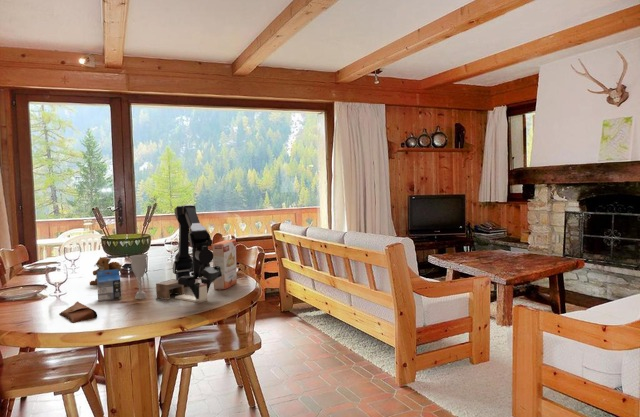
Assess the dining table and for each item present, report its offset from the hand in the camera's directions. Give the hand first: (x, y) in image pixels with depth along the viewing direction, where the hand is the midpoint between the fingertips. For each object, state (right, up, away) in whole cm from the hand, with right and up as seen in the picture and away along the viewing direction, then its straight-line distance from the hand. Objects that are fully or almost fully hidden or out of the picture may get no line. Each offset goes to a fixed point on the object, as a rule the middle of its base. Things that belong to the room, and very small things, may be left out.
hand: (201, 297), depth 185 cm
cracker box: (+5, 0, +26) cm, 26 cm away
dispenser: (-16, -1, +11) cm, 19 cm away
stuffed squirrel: (-58, -1, +40) cm, 70 cm away
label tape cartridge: (-41, -2, +8) cm, 42 cm away
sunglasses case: (-43, -5, -15) cm, 46 cm away
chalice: (-29, -2, +9) cm, 30 cm away
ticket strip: (-5, -1, +3) cm, 6 cm away
